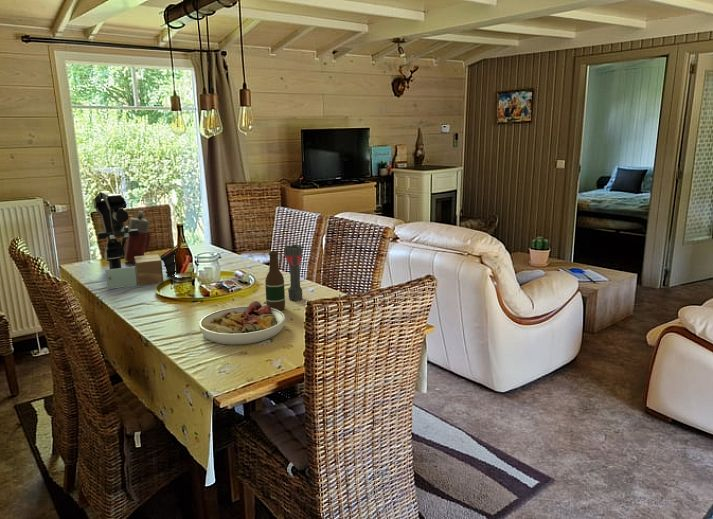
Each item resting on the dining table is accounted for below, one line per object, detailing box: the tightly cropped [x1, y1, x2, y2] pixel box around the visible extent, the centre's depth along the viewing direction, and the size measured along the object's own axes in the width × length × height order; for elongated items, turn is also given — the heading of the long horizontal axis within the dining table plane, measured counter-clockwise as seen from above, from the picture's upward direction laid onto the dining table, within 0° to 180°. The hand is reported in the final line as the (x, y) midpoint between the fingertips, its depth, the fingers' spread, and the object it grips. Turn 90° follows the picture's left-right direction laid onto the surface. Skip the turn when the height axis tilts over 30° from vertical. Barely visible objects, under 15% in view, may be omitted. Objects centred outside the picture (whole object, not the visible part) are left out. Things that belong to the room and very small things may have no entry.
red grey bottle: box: [124, 210, 151, 263], centre depth 300 cm, size 9×11×28 cm
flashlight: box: [283, 244, 303, 302], centre depth 230 cm, size 8×8×23 cm
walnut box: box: [134, 254, 164, 286], centre depth 262 cm, size 15×11×11 cm
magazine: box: [159, 245, 177, 278], centre depth 272 cm, size 4×13×15 cm, turn 131°
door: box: [104, 265, 139, 290], centre depth 250 cm, size 13×2×9 cm, turn 119°
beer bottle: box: [264, 250, 286, 312], centre depth 215 cm, size 8×8×24 cm
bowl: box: [198, 300, 286, 346], centre depth 193 cm, size 30×30×8 cm
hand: (120, 251), depth 269 cm, fingers closed
